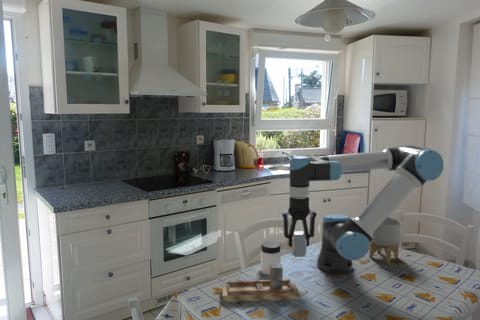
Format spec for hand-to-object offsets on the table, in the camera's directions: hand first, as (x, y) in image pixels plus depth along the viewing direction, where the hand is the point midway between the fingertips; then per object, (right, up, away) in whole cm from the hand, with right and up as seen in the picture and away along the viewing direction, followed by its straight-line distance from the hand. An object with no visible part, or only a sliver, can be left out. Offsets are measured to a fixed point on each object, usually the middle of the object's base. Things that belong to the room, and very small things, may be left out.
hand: (298, 253), depth 145 cm
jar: (-10, -11, +12) cm, 19 cm away
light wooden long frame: (-16, -13, -8) cm, 22 cm away
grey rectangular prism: (0, 0, 0) cm, 0 cm away
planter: (+44, -9, +27) cm, 52 cm away
